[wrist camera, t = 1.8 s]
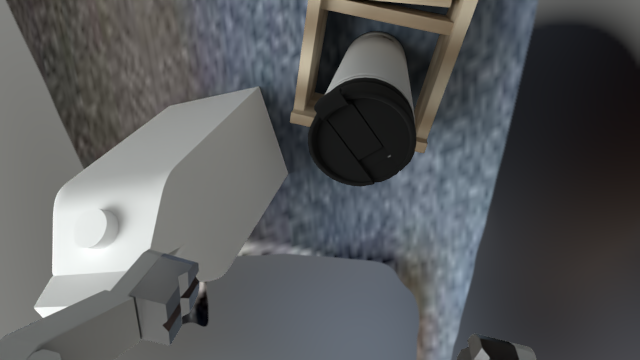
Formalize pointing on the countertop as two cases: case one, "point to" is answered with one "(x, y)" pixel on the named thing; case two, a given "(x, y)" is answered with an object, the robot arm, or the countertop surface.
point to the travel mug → (365, 114)
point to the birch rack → (363, 5)
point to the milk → (167, 196)
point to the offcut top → (424, 2)
